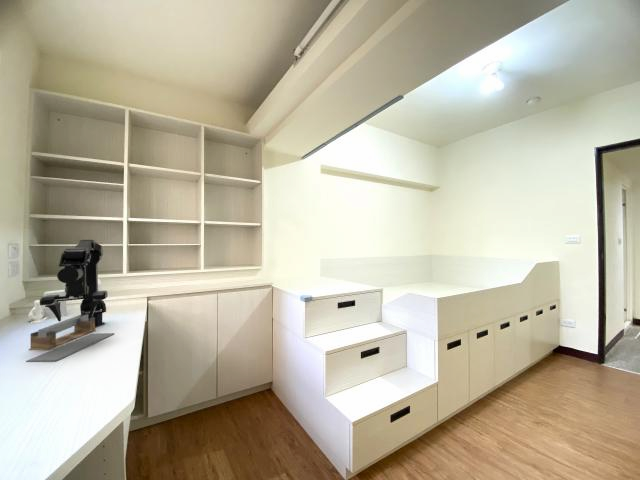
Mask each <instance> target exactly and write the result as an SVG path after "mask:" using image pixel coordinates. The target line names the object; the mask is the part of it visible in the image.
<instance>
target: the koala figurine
mask: <svg viewBox="0 0 640 480" xmlns="http://www.w3.org/2000/svg"><path fill="white" fill-rule="evenodd" d="M33 304H34V306H33V308H32V309H30V311H29V313H28V319H29V320H33V321H31V323H32V322H33V323H41V322H44V321H46V320H47V319H48V318H47V317H44V309H46V308H47V307H45V305H40V299H37V300H34V301H33ZM43 317H44V318H43ZM33 323H32V324H33Z"/></svg>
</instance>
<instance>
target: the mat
mask: <svg viewBox="0 0 640 480" xmlns="http://www.w3.org/2000/svg"><path fill="white" fill-rule="evenodd" d="M114 335H115V333H114V332H107V333H106V332H103V333H101V332H100V333H99V332H97V333H96V332H92V333H90V334H87V335H85V336H82V337H80V338H77V339H75V340H73V341H70V342H68V343H65V344H63V345H60V346H58V347H55V348H53V349H50V350H47V351H46V352H44V353H41V354H39V355H37V356H34V357H31V358H29V359H27V360H25V362H26V363H55V362H56V363H57V362H58V361H61V360H63V359H65V358H68V357H69V356H71V355H74V354H75V353H78V352H79V351H81V350H85V349H86V348H89V347H91V346H93V345H95V344H97V343H99V342H101V341H103V340H105V339H108V338H110V337H112V336H114Z"/></svg>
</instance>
